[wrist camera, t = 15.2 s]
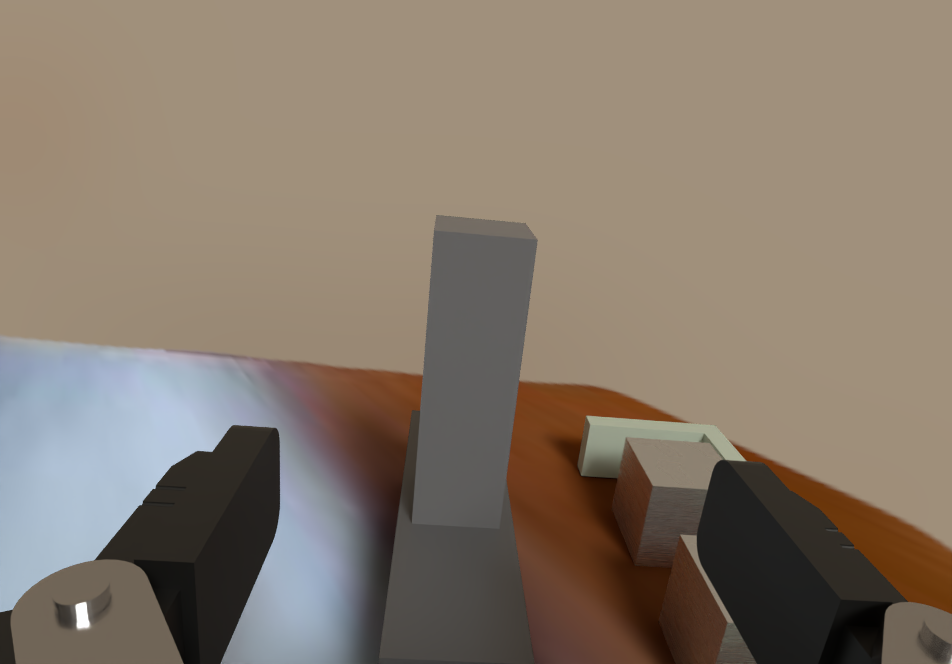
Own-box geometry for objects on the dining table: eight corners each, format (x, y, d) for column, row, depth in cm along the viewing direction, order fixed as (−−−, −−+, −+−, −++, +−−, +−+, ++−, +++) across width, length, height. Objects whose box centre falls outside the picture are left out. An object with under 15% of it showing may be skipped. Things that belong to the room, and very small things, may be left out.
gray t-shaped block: (371, 769, 17) (402, 274, 12) (407, 483, 30) (427, 194, 25) (516, 774, 17) (597, 291, 12) (487, 488, 30) (522, 203, 26)
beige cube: (698, 722, 19) (728, 622, 18) (658, 623, 23) (679, 534, 22) (820, 728, 19) (858, 629, 18) (760, 628, 23) (788, 541, 22)
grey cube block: (634, 567, 26) (652, 485, 24) (611, 510, 30) (626, 437, 28) (725, 572, 26) (748, 492, 25) (691, 515, 30) (709, 443, 29)
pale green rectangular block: (727, 877, 15) (757, 792, 14) (577, 465, 33) (586, 415, 32) (994, 884, 15) (1041, 801, 14) (702, 474, 33) (715, 425, 32)
